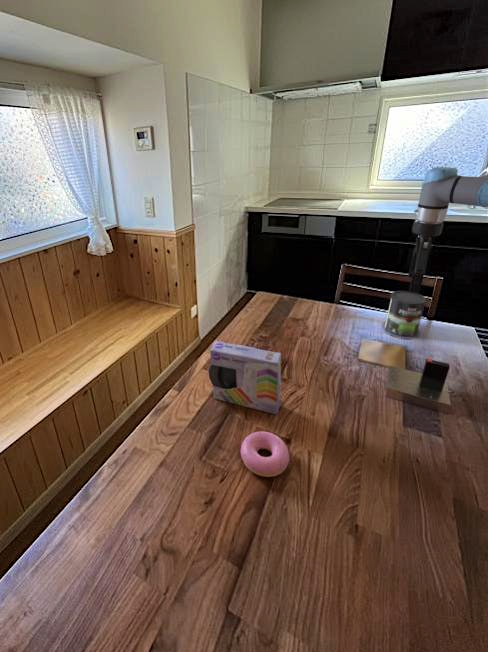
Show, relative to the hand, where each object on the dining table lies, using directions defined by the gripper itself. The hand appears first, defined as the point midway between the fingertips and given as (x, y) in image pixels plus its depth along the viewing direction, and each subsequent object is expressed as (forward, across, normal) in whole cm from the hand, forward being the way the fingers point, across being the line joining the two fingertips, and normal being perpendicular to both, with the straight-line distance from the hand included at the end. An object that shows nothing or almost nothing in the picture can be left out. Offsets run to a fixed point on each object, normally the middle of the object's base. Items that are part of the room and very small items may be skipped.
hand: (413, 284), depth 111 cm
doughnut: (+20, +71, -27) cm, 78 cm away
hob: (+20, +31, +4) cm, 37 cm away
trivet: (+20, +16, -5) cm, 26 cm away
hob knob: (+17, +31, +6) cm, 36 cm away
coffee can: (+20, -2, 0) cm, 20 cm away
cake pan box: (+20, +56, -38) cm, 70 cm away
